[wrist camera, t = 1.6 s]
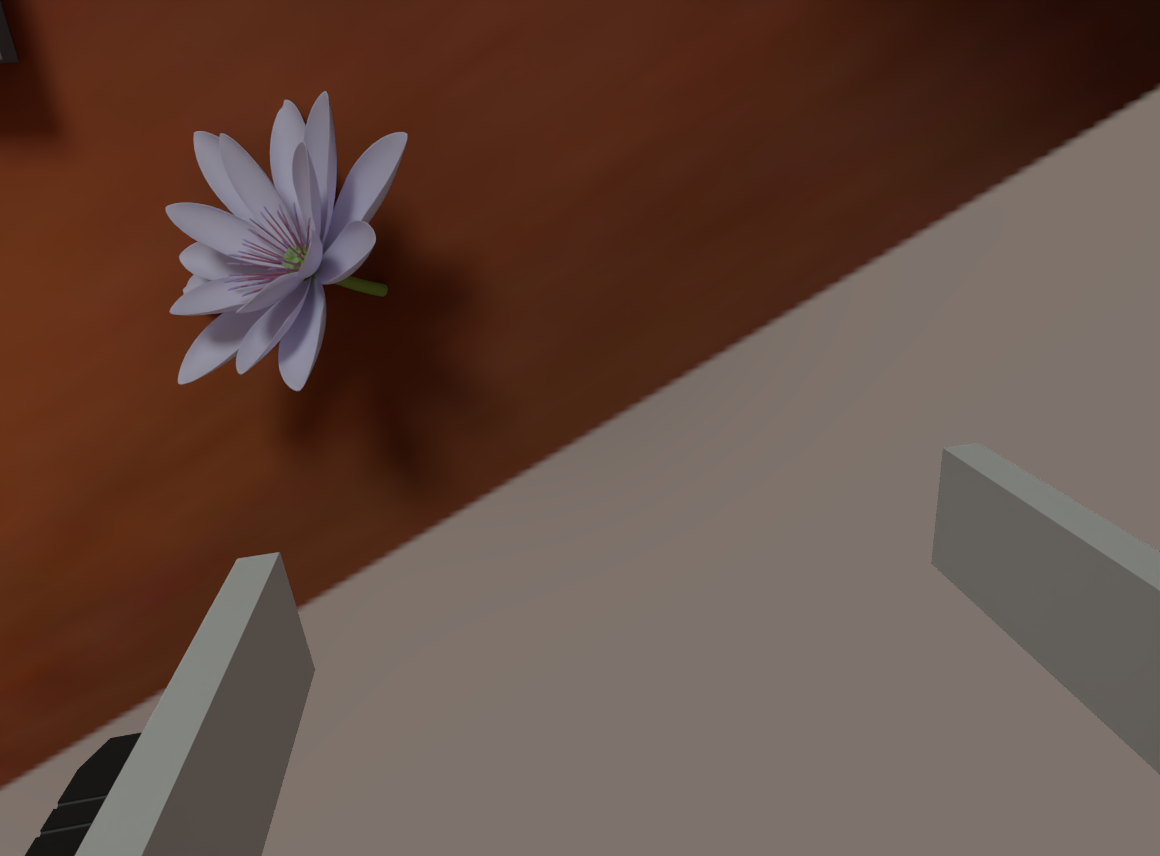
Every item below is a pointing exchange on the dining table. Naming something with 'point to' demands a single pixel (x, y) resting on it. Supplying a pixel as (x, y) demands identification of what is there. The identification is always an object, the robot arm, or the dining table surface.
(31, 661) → the dining table surface
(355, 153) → the dining table surface
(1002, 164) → the dining table surface
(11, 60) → the fader console
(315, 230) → the water lily
